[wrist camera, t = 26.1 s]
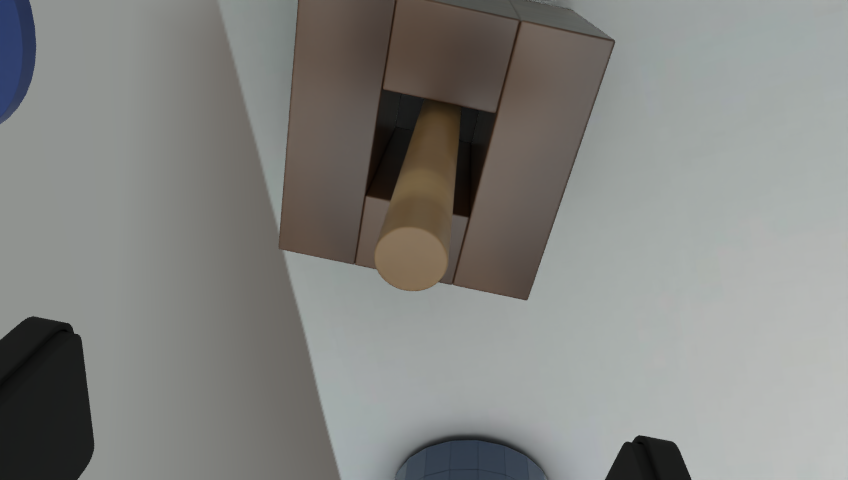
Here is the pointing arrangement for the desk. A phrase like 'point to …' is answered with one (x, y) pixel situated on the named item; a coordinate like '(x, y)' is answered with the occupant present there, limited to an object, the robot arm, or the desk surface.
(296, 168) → the stick stand
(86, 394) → the robot arm
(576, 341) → the desk surface
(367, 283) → the desk surface
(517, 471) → the mixing bowl
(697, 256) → the desk surface
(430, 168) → the stick
